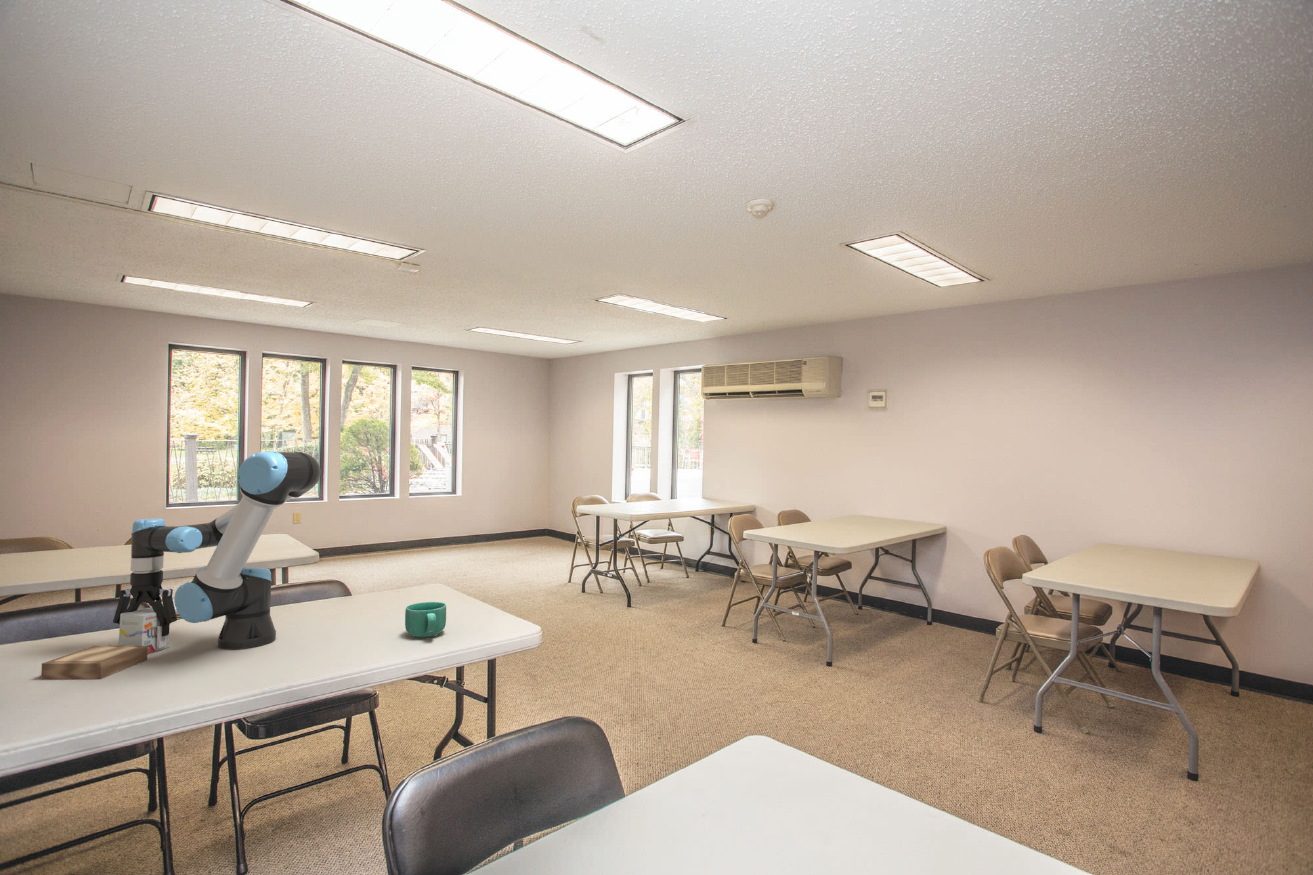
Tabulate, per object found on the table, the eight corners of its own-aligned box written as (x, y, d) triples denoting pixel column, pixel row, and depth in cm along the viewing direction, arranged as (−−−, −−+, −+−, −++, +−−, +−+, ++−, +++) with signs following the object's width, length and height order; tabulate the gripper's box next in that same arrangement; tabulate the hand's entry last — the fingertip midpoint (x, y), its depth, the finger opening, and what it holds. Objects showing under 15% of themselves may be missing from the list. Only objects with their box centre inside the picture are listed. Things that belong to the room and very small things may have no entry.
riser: (147, 659, 173) (147, 645, 174) (100, 678, 158) (101, 662, 159) (92, 660, 173) (93, 645, 173) (41, 679, 158) (41, 663, 158)
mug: (403, 632, 203) (404, 603, 203) (443, 628, 208) (444, 599, 208) (406, 646, 188) (407, 615, 188) (449, 641, 193) (450, 611, 194)
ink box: (141, 656, 177) (142, 614, 177) (117, 654, 178) (118, 613, 179) (170, 647, 185) (171, 607, 186) (147, 645, 187) (148, 606, 187)
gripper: (193, 568, 187) (191, 643, 186) (119, 568, 186) (117, 643, 185) (175, 573, 179) (172, 650, 178) (98, 573, 178) (95, 651, 178)
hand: (144, 646), depth 182 cm, fingers closed on ink box, 9 cm apart
